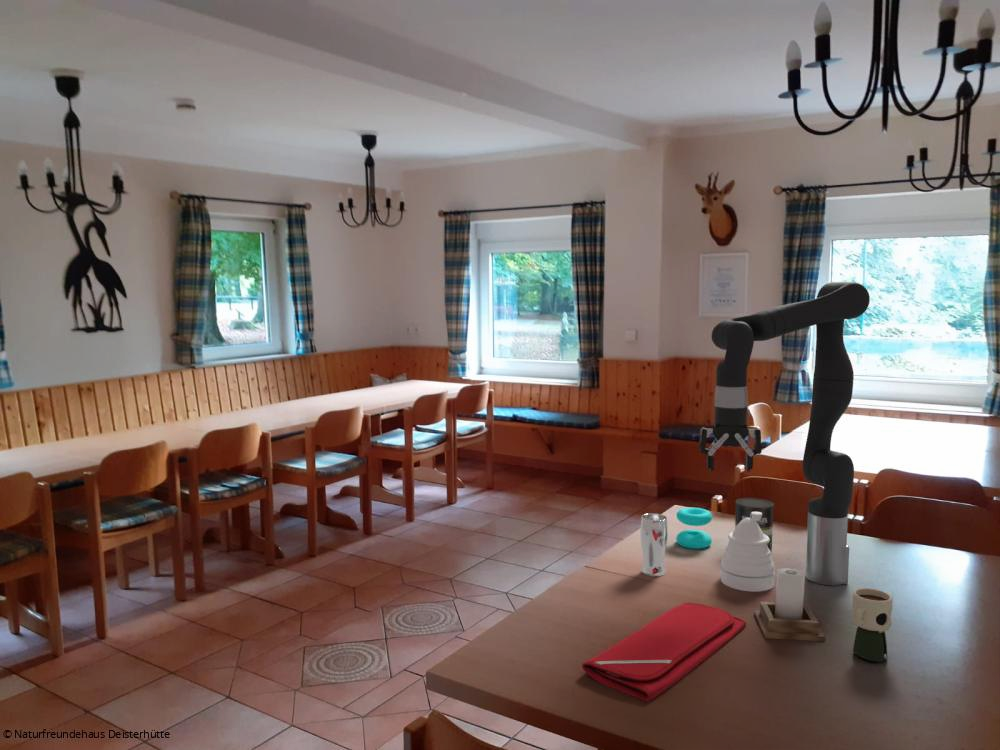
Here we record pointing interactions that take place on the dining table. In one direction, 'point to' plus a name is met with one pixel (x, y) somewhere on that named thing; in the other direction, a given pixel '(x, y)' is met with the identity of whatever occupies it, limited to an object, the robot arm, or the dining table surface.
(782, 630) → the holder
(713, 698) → the dining table surface
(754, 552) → the honey pot
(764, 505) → the coffee can
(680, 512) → the donuts
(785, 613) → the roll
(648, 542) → the beer glass
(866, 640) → the character mug
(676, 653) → the red folded cloth
